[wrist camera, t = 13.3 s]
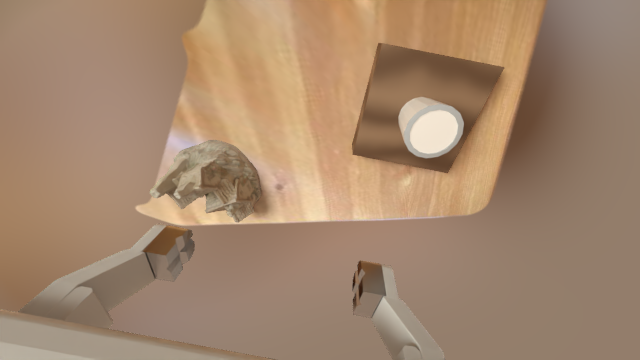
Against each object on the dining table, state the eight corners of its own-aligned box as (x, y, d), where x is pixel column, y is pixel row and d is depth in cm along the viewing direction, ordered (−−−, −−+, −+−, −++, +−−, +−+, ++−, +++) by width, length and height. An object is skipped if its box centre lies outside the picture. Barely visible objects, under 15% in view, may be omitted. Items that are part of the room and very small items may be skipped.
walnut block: (378, 42, 34) (382, 43, 30) (484, 63, 34) (504, 67, 30) (352, 143, 42) (352, 154, 38) (437, 159, 42) (447, 173, 38)
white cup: (452, 117, 33) (475, 134, 28) (411, 147, 36) (424, 168, 30) (425, 81, 31) (444, 90, 25) (384, 116, 34) (392, 132, 28)
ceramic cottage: (166, 147, 46) (105, 194, 33) (243, 133, 43) (207, 178, 31) (204, 206, 54) (166, 261, 42) (270, 197, 52) (250, 252, 39)
